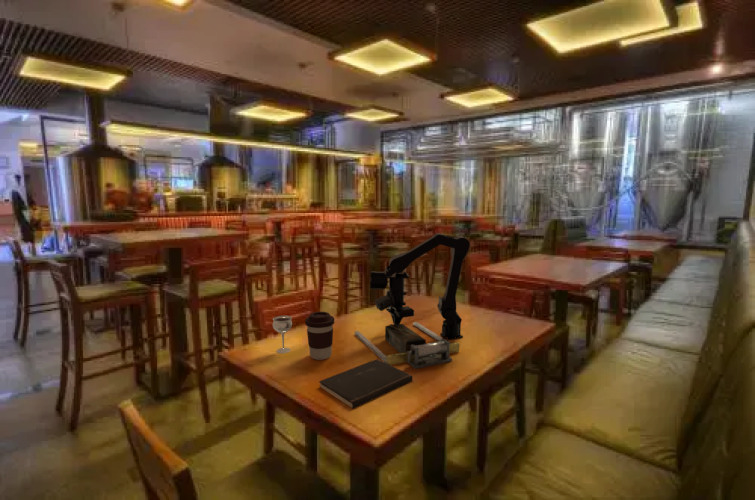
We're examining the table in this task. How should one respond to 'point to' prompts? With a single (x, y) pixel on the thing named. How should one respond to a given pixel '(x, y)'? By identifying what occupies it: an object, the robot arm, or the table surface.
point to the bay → (402, 356)
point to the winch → (428, 354)
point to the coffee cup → (320, 334)
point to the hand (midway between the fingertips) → (396, 327)
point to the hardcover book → (365, 382)
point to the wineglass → (282, 329)
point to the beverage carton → (402, 337)
